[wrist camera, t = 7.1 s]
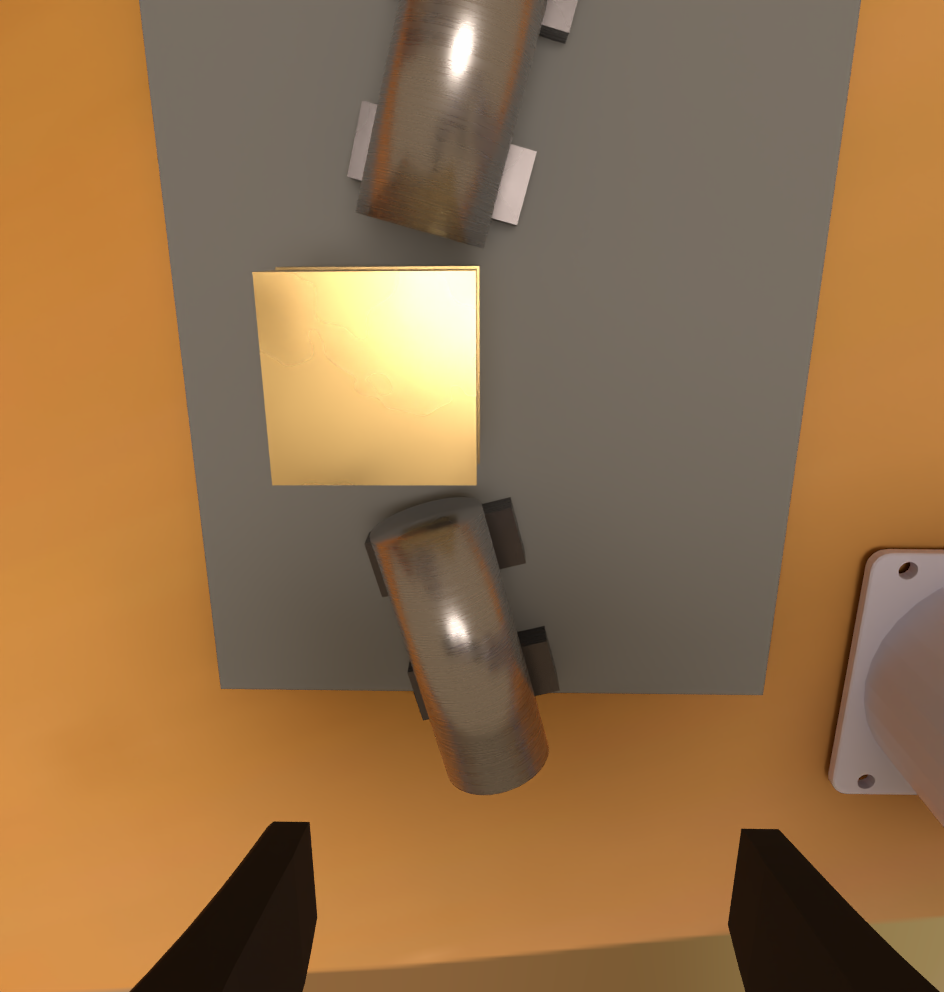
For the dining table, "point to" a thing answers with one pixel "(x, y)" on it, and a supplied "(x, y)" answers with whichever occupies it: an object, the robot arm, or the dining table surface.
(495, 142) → the shaft
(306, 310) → the tan rectangular block
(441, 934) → the dining table surface
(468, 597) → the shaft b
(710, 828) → the dining table surface
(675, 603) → the mat
